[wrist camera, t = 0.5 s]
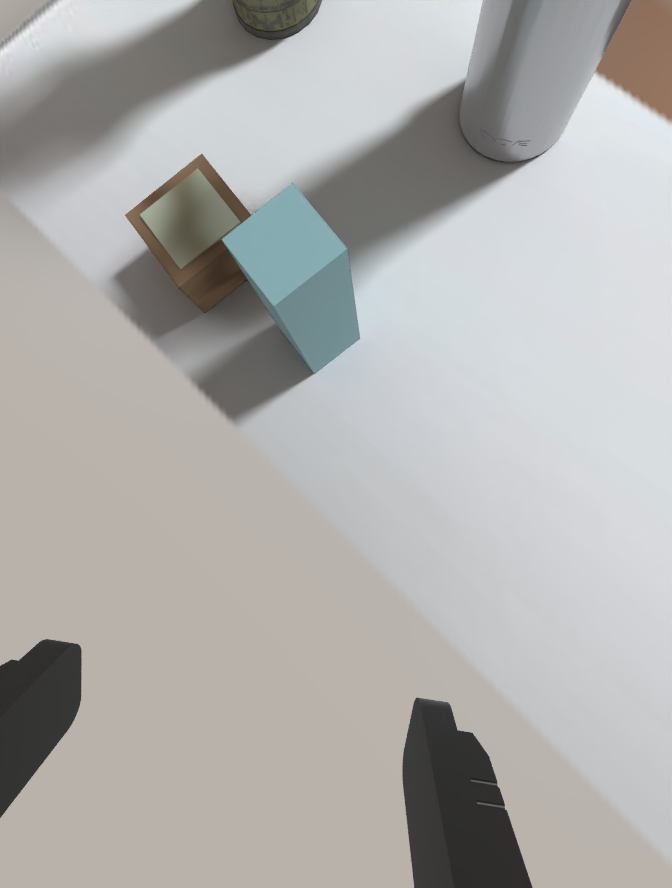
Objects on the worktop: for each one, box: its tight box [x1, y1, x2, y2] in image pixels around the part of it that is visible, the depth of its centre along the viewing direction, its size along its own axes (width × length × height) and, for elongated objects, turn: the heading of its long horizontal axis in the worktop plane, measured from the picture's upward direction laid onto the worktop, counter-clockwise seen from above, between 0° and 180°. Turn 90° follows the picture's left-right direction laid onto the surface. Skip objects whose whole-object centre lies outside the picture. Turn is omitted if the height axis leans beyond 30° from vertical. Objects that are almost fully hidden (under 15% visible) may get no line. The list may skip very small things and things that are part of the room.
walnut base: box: [125, 154, 251, 313], centre depth 36 cm, size 8×8×5 cm
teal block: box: [222, 183, 360, 374], centre depth 30 cm, size 5×5×14 cm
